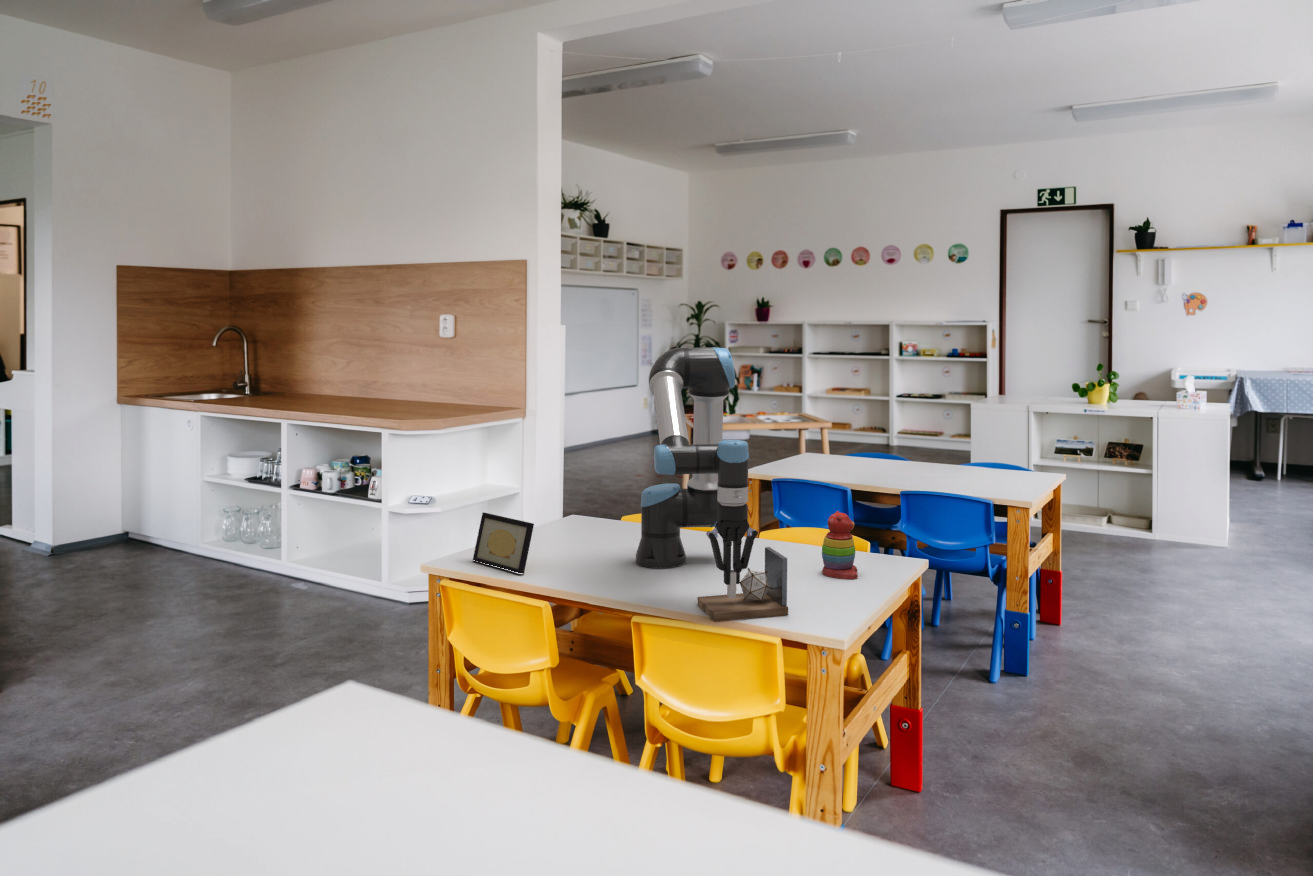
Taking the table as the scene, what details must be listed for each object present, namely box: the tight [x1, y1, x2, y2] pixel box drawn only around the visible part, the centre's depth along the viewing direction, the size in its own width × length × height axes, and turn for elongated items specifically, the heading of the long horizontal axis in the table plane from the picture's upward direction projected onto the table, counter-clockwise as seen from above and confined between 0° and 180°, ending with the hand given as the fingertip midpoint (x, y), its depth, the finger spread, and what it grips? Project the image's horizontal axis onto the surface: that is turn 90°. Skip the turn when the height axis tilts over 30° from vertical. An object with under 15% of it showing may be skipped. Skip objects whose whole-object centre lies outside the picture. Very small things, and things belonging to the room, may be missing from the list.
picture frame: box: [472, 512, 535, 574], centre depth 268 cm, size 23×9×15 cm, turn 47°
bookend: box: [764, 546, 788, 607], centre depth 226 cm, size 12×1×12 cm, turn 14°
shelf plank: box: [696, 592, 789, 623], centre depth 225 cm, size 14×19×2 cm
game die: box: [739, 567, 774, 603], centre depth 225 cm, size 9×8×10 cm
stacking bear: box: [821, 510, 859, 580], centre depth 256 cm, size 11×10×18 cm
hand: (731, 596), depth 224 cm, fingers closed
